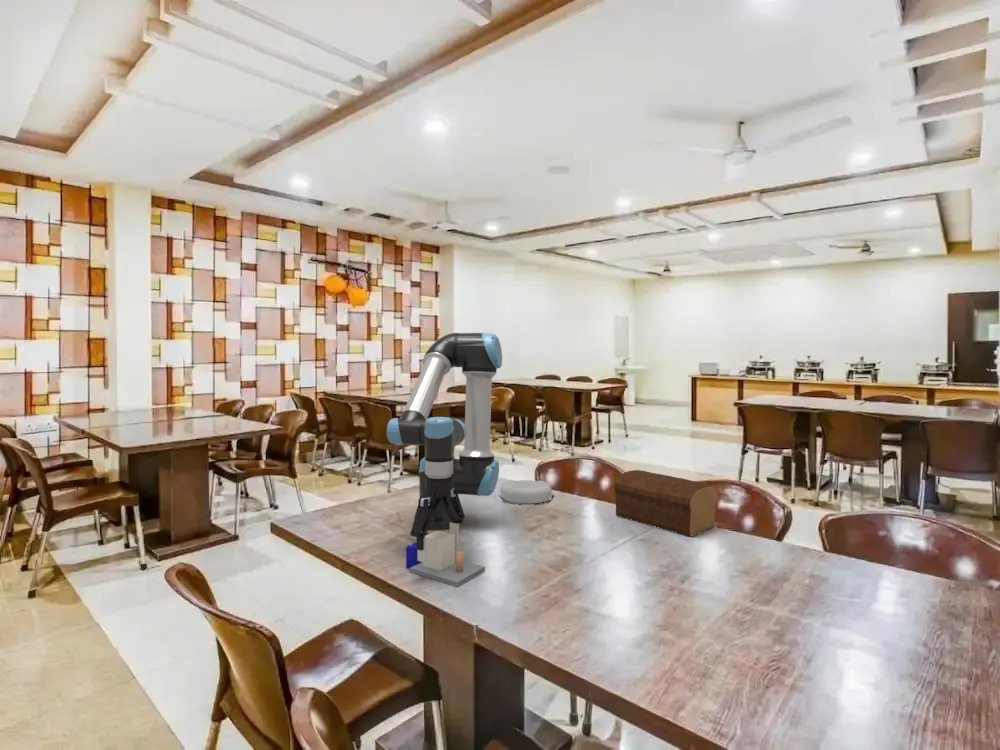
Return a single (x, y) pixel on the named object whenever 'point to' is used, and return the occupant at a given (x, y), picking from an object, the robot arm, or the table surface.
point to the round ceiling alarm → (526, 491)
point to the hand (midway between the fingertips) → (438, 553)
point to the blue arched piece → (412, 555)
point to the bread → (665, 501)
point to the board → (451, 571)
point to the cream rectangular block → (440, 550)
